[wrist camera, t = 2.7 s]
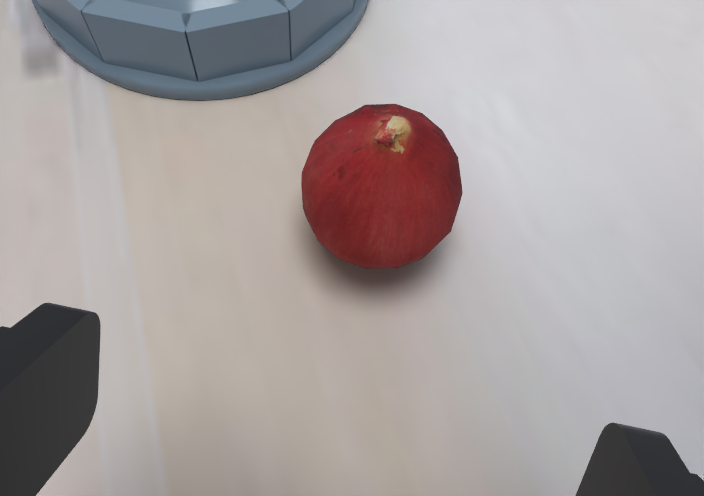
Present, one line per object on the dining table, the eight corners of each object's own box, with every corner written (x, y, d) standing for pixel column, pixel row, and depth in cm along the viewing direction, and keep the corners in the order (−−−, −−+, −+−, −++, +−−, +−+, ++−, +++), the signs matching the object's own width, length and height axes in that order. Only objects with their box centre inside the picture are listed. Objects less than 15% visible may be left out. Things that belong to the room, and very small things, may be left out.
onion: (301, 173, 26) (298, 41, 19) (431, 171, 27) (476, 42, 20) (304, 299, 24) (302, 204, 17) (447, 295, 24) (505, 200, 17)
